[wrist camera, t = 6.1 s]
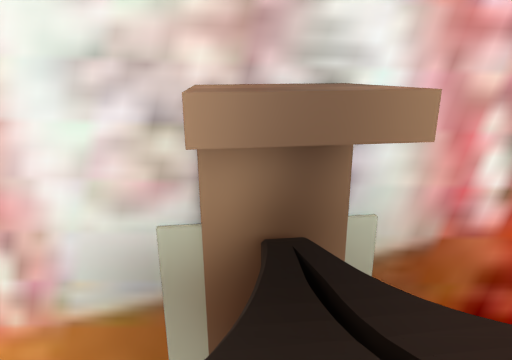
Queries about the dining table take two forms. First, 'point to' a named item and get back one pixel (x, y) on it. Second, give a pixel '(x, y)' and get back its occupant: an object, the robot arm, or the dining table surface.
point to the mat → (193, 283)
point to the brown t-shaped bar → (284, 170)
